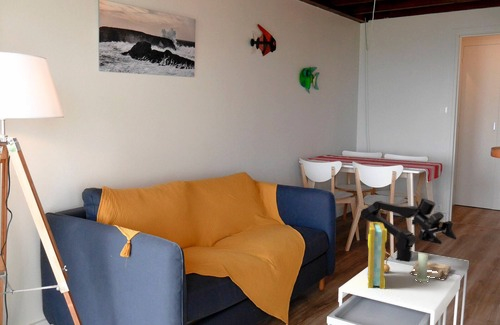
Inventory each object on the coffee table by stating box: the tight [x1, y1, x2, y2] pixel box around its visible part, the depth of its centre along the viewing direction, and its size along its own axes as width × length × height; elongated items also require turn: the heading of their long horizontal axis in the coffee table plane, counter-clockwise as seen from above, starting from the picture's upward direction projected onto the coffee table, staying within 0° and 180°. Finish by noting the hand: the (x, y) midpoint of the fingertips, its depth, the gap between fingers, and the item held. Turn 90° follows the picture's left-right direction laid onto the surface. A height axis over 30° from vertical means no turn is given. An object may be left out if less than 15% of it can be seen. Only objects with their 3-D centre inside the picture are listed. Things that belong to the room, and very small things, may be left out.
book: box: [367, 221, 388, 290], centre depth 205 cm, size 17×7×25 cm, turn 168°
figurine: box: [384, 248, 394, 274], centre depth 218 cm, size 8×6×12 cm
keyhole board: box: [409, 260, 451, 280], centre depth 221 cm, size 15×18×2 cm
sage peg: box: [414, 252, 430, 283], centre depth 208 cm, size 6×6×12 cm
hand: (448, 241), depth 219 cm, fingers open, 9 cm apart
